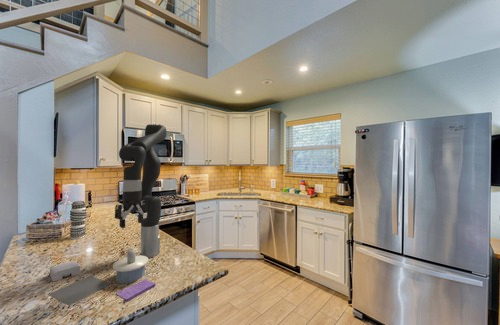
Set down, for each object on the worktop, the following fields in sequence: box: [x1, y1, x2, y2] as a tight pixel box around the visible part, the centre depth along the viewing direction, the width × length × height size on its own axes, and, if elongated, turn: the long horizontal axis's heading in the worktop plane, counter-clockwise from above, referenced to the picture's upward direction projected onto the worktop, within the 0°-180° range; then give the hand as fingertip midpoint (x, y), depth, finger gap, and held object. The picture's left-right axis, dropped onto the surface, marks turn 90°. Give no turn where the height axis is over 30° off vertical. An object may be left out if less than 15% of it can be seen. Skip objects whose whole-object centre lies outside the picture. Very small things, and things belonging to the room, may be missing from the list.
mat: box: [47, 275, 112, 306], centre depth 85 cm, size 15×15×1 cm
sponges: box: [115, 278, 156, 303], centre depth 85 cm, size 7×13×2 cm, turn 151°
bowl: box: [115, 265, 146, 284], centre depth 95 cm, size 11×11×6 cm
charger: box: [49, 260, 81, 282], centre depth 98 cm, size 5×9×15 cm
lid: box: [112, 249, 149, 272], centre depth 95 cm, size 14×14×6 cm
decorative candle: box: [69, 200, 87, 240], centre depth 146 cm, size 9×9×25 cm
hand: (131, 225), depth 95 cm, fingers open, 8 cm apart
